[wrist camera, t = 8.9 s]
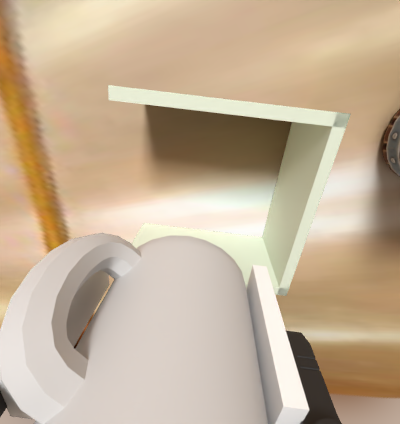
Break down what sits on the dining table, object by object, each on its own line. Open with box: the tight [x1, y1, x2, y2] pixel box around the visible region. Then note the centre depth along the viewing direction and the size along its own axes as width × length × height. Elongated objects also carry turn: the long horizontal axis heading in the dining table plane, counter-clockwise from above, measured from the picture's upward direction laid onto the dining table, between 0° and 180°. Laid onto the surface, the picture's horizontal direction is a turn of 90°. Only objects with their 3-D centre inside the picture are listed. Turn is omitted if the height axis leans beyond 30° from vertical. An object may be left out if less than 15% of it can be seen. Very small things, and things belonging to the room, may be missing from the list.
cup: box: [0, 233, 269, 424], centre depth 10 cm, size 7×10×9 cm
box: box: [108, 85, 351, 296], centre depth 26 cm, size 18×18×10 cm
